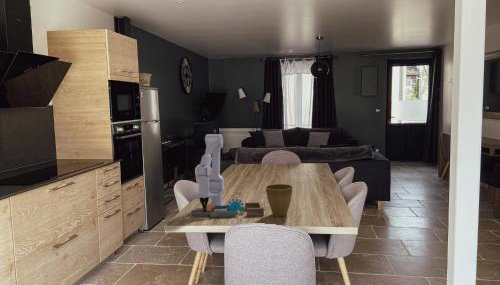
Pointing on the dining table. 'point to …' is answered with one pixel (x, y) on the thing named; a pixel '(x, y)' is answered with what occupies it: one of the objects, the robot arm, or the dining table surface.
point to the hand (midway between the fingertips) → (204, 210)
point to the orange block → (211, 208)
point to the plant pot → (279, 198)
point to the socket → (215, 214)
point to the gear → (236, 206)
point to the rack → (254, 209)
